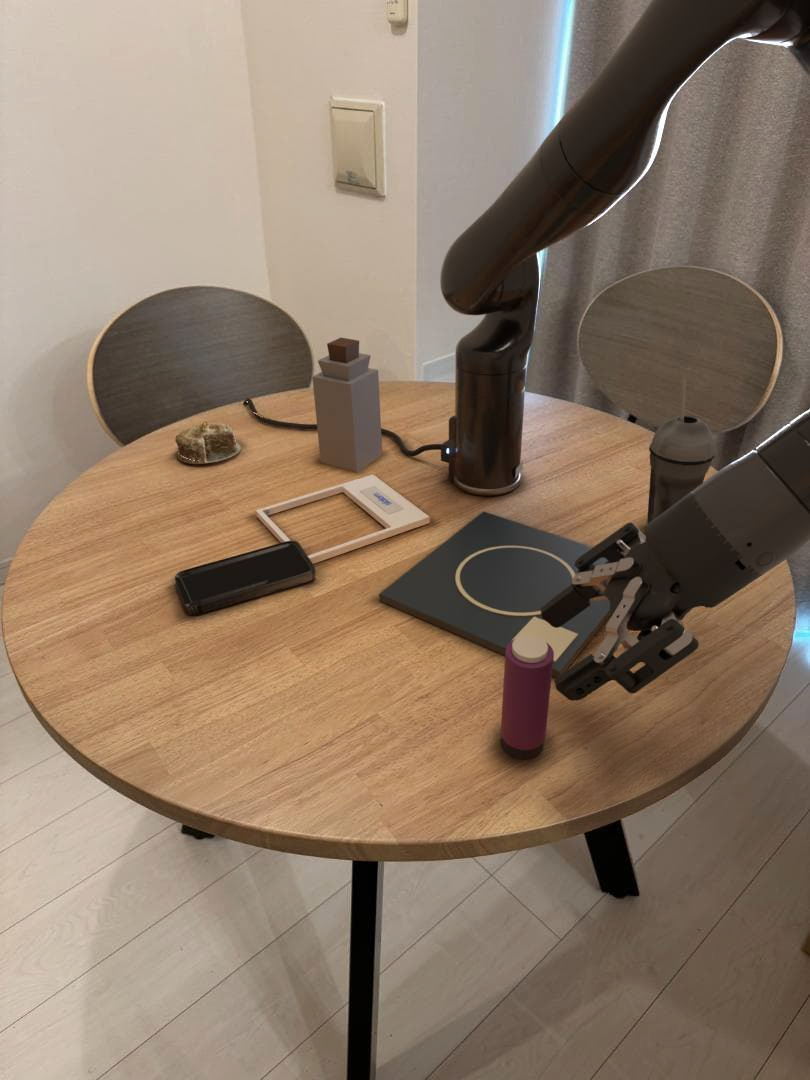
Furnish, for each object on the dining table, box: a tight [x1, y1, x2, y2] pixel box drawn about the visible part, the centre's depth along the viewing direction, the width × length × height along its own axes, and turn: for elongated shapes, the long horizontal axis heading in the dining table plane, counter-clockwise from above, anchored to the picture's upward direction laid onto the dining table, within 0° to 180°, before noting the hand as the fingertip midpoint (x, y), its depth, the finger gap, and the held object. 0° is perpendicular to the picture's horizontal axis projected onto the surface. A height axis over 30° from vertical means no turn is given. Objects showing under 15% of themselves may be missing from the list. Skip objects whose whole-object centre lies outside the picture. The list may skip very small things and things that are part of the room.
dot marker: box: [500, 635, 554, 760], centre depth 61 cm, size 4×4×11 cm
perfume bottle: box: [311, 337, 383, 473], centre depth 108 cm, size 7×7×18 cm
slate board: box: [378, 511, 612, 679], centre depth 83 cm, size 22×22×1 cm
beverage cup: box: [646, 379, 715, 526], centre depth 86 cm, size 7×7×20 cm
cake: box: [174, 421, 242, 465], centre depth 115 cm, size 10×10×5 cm
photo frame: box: [255, 474, 431, 565], centre depth 97 cm, size 15×1×18 cm
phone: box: [174, 540, 317, 616], centre depth 85 cm, size 8×1×15 cm
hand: (554, 653), depth 58 cm, fingers open, 8 cm apart
